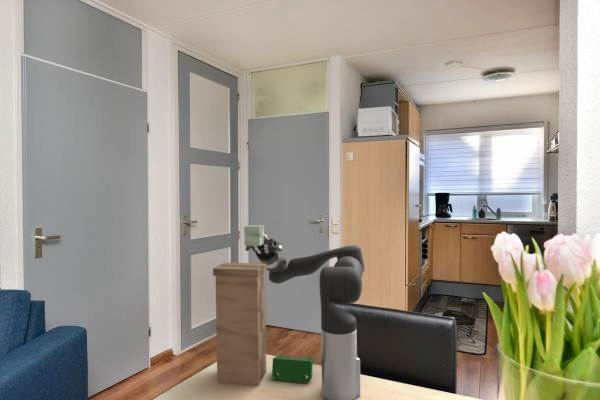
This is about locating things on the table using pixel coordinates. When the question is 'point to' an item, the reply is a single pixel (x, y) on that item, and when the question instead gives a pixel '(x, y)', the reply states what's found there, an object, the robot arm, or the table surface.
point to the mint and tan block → (254, 235)
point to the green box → (292, 368)
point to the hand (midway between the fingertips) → (257, 236)
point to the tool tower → (240, 322)
